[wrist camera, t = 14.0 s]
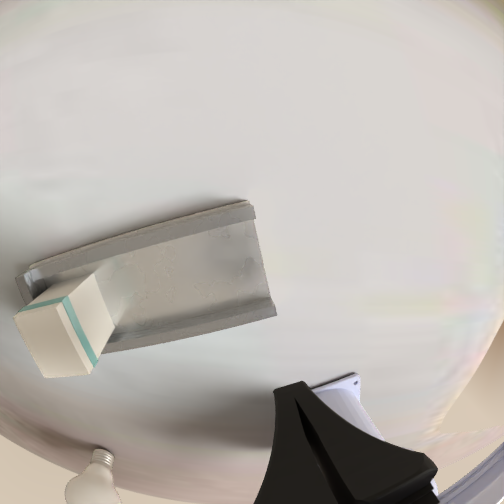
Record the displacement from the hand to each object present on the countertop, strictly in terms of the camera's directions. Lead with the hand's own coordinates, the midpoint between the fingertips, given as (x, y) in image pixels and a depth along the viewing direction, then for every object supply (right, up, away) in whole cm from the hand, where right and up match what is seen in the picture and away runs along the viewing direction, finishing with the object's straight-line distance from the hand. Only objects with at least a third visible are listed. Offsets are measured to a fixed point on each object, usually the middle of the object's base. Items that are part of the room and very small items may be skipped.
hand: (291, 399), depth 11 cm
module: (-15, +2, +7) cm, 16 cm away
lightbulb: (-19, -17, +13) cm, 29 cm away
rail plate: (-10, +4, +8) cm, 14 cm away
